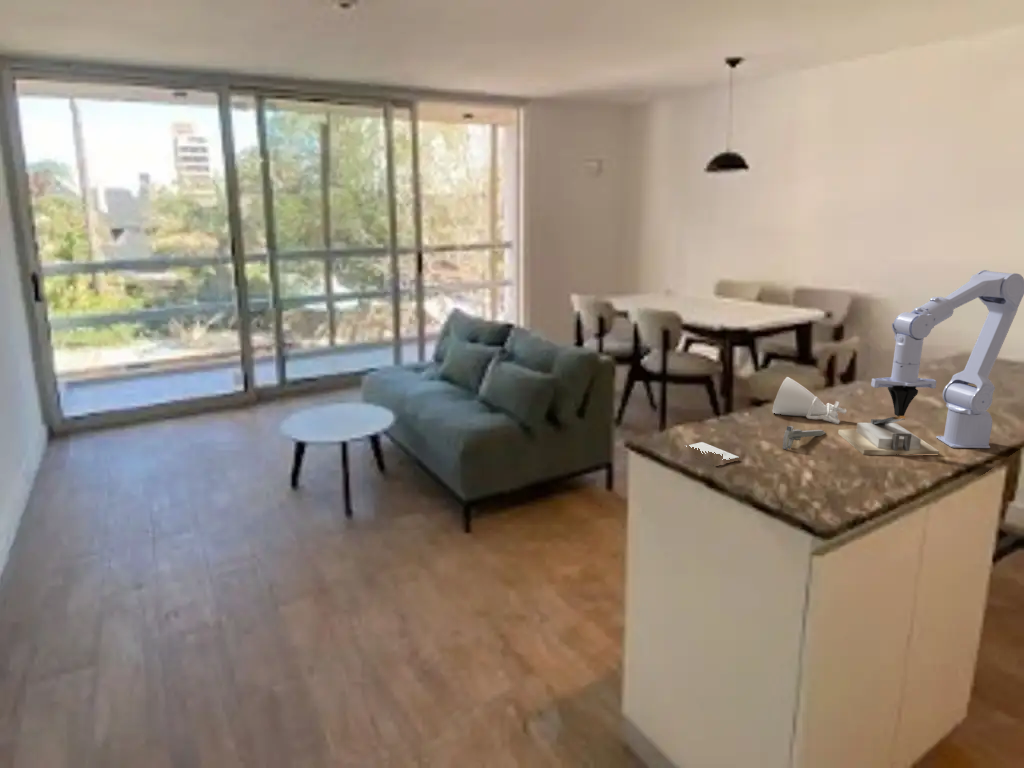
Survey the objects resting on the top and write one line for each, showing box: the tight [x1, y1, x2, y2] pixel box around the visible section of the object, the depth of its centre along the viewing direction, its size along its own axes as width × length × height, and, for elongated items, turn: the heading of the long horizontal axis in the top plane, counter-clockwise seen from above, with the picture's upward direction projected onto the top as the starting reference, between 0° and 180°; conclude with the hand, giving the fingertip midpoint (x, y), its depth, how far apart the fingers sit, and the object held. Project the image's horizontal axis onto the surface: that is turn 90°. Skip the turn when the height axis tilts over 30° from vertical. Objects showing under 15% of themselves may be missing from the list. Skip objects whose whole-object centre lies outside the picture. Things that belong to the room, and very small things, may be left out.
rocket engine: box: [772, 376, 848, 425], centre depth 201 cm, size 12×12×18 cm
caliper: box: [782, 425, 826, 451], centre depth 181 cm, size 20×1×6 cm, turn 130°
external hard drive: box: [685, 441, 740, 460], centre depth 172 cm, size 2×8×12 cm
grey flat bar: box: [873, 415, 906, 424], centre depth 177 cm, size 3×13×1 cm, turn 176°
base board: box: [837, 418, 940, 456], centre depth 178 cm, size 18×16×6 cm
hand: (899, 415), depth 172 cm, fingers closed, pressing on grey flat bar
